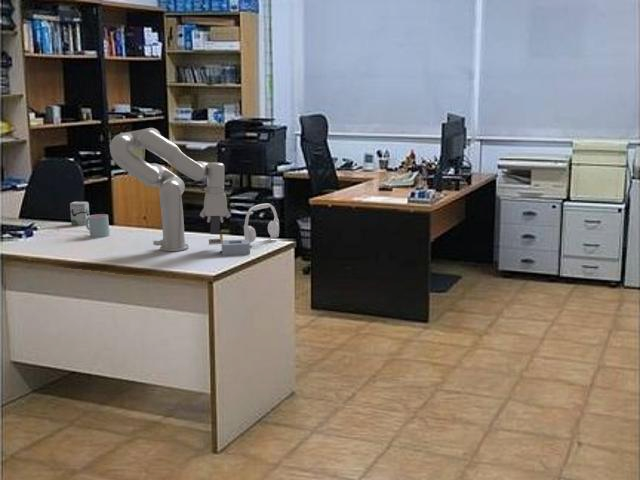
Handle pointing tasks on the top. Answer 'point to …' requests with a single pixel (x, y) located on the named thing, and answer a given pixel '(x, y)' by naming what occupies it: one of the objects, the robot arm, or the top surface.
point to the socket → (235, 247)
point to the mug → (98, 225)
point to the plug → (215, 225)
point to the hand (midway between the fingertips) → (215, 230)
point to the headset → (272, 226)
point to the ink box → (79, 213)
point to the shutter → (216, 241)
